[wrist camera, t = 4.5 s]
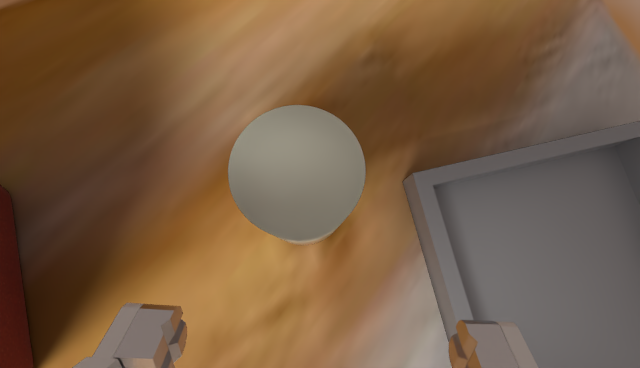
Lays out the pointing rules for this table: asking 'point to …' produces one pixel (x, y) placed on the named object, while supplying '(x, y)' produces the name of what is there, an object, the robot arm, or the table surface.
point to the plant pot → (11, 295)
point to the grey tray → (541, 245)
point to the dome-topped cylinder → (297, 173)
